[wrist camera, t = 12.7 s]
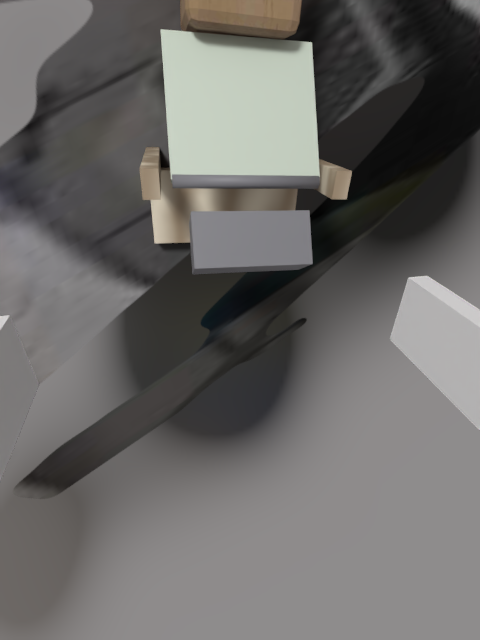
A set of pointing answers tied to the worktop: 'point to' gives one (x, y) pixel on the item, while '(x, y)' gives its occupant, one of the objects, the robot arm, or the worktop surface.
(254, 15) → the wooden block
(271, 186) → the trapdoor
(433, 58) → the worktop surface
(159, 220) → the trapdoor frame
